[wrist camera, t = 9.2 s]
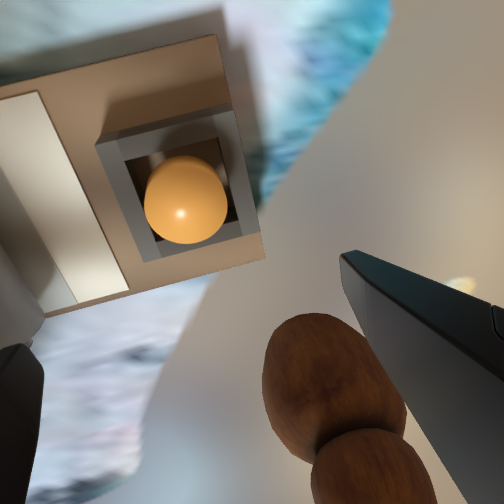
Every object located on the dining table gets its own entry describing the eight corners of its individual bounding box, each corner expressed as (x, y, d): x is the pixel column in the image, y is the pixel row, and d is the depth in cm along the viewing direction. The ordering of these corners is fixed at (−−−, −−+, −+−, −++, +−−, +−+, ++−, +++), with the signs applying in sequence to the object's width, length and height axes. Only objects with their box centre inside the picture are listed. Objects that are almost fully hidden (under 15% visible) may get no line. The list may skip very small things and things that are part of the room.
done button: (230, 215, 17) (235, 232, 15) (160, 234, 16) (159, 252, 15) (212, 146, 15) (216, 158, 14) (135, 166, 15) (131, 180, 14)
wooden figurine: (373, 310, 24) (597, 629, 12) (331, 376, 27) (478, 701, 14) (275, 287, 22) (420, 651, 9) (238, 361, 24) (314, 732, 12)
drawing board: (261, 248, 21) (272, 274, 19) (-27, 326, 20) (-50, 363, 18) (213, 33, 15) (220, 36, 13) (-180, 129, 15) (-239, 148, 13)
